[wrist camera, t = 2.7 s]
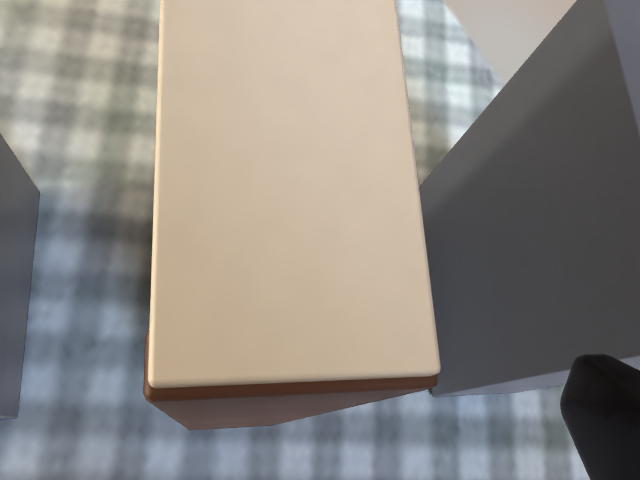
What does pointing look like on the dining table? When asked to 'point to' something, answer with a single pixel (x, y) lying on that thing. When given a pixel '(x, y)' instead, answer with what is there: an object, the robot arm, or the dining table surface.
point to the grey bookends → (488, 220)
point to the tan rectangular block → (284, 215)
